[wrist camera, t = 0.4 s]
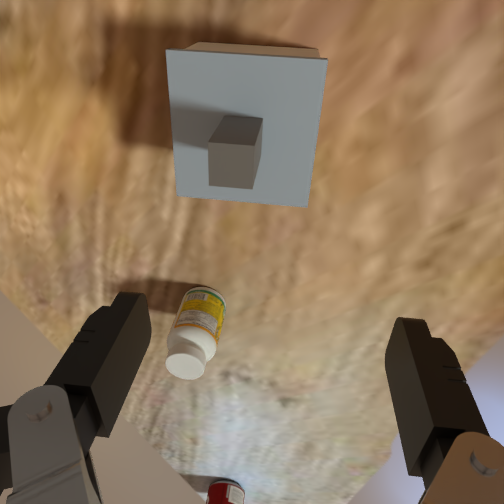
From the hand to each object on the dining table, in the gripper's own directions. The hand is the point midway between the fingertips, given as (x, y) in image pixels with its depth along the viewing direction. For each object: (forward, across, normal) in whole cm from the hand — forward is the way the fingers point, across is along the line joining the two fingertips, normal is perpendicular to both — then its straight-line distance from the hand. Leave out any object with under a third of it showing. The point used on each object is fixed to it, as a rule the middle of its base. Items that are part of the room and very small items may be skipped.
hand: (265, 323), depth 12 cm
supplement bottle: (+25, +8, +22) cm, 35 cm away
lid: (+18, +3, -1) cm, 18 cm away
